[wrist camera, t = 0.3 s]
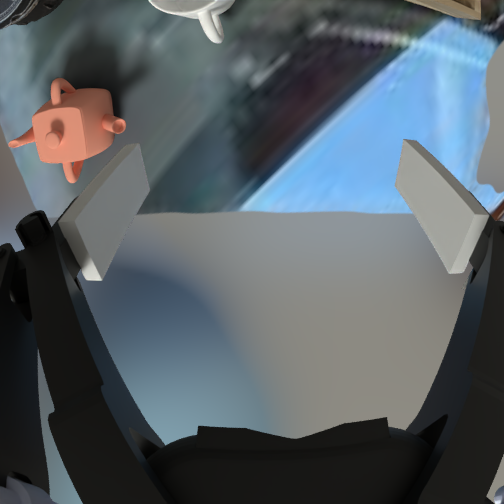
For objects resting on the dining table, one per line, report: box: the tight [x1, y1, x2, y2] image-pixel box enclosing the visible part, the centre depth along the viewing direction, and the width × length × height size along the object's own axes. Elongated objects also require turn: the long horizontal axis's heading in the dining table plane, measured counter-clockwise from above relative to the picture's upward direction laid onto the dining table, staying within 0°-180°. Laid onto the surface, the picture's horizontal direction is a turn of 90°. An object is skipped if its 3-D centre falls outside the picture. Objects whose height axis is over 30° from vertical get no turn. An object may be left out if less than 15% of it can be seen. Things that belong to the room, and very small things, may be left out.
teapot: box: [9, 78, 126, 183], centre depth 32 cm, size 14×12×10 cm
